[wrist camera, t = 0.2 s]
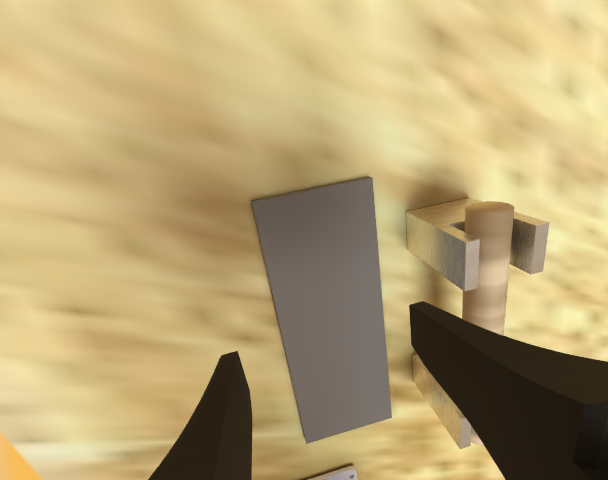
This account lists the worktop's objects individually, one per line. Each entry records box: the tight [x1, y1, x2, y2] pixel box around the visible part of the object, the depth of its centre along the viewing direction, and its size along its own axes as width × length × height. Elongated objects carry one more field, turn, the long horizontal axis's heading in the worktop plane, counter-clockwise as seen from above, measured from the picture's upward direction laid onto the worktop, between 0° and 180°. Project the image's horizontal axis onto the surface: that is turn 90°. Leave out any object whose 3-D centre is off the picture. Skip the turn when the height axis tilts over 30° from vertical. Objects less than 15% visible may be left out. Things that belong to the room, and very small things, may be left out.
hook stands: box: [406, 198, 549, 449], centre depth 23 cm, size 16×5×6 cm, turn 9°
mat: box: [251, 177, 392, 444], centre depth 25 cm, size 22×8×1 cm, turn 9°
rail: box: [462, 202, 514, 445], centre depth 21 cm, size 18×2×2 cm, turn 9°
